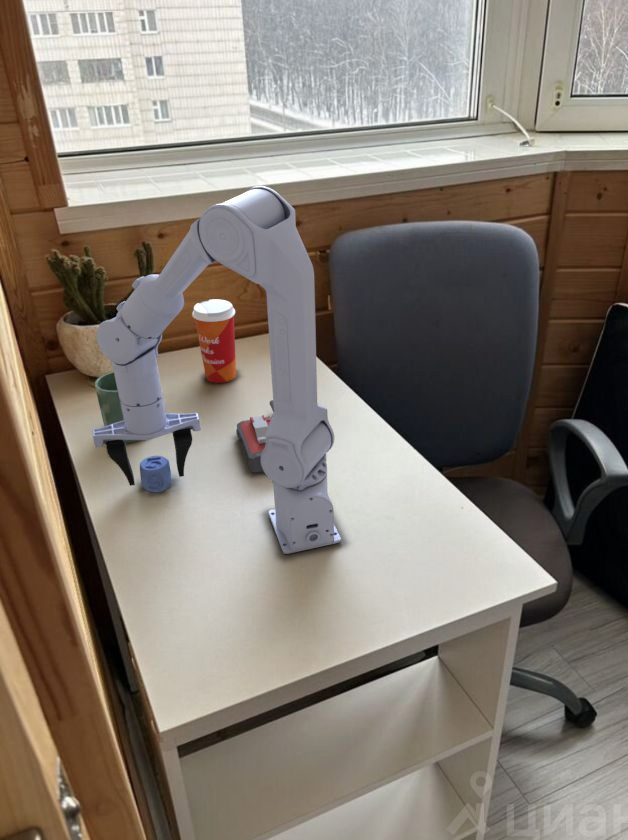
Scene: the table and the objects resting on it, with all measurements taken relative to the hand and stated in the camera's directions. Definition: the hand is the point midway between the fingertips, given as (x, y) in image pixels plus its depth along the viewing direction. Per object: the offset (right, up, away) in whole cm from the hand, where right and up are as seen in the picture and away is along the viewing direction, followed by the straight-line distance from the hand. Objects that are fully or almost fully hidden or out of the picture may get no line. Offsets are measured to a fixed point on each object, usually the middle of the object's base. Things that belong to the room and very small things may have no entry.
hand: (156, 477), depth 107 cm
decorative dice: (0, -1, +1) cm, 2 cm away
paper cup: (+4, +18, +30) cm, 35 cm away
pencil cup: (-8, +7, +13) cm, 17 cm away
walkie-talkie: (+15, +6, +11) cm, 19 cm away
